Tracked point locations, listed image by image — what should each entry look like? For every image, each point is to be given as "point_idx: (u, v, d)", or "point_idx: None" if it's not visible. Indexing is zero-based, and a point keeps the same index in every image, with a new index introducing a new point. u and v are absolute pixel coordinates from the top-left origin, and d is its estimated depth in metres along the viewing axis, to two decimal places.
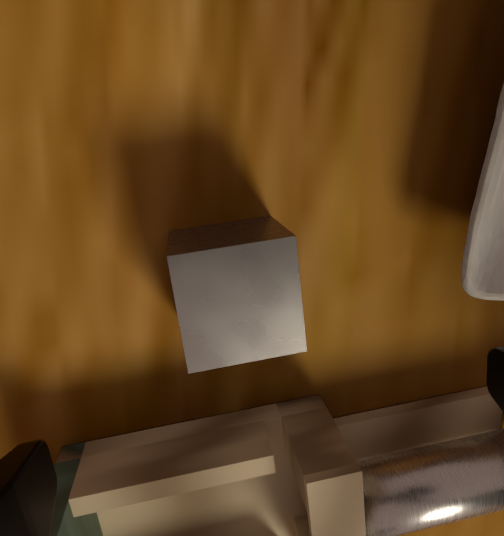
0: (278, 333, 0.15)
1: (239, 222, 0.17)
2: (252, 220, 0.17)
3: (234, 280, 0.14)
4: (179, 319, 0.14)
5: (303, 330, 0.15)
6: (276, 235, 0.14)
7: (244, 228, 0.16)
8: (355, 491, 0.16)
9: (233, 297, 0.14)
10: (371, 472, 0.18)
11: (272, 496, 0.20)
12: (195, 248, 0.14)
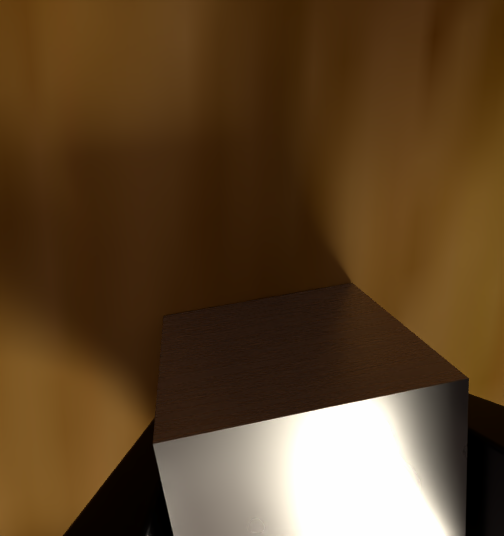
0: None
1: (298, 301, 0.09)
2: (322, 296, 0.09)
3: (318, 484, 0.06)
4: None
5: None
6: (412, 368, 0.06)
7: (318, 326, 0.08)
8: None
9: (314, 520, 0.06)
10: None
11: None
12: (223, 407, 0.06)
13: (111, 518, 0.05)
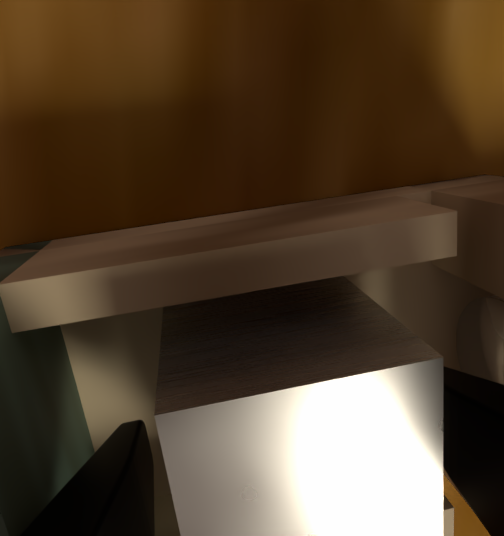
0: None
1: (291, 291, 0.09)
2: (313, 287, 0.09)
3: (305, 455, 0.06)
4: None
5: (437, 531, 0.07)
6: (393, 349, 0.07)
7: (308, 313, 0.08)
8: None
9: (302, 488, 0.06)
10: None
11: None
12: (219, 384, 0.06)
13: (58, 530, 0.05)
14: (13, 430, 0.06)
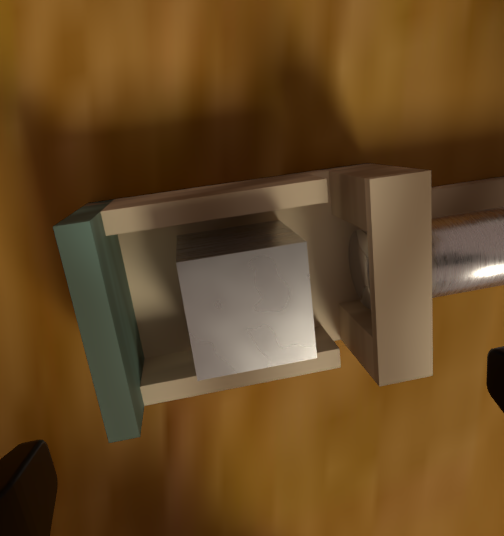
0: (288, 340, 0.14)
1: (248, 227, 0.17)
2: (261, 225, 0.17)
3: (244, 287, 0.14)
4: (188, 326, 0.14)
5: (313, 336, 0.15)
6: (286, 241, 0.14)
7: (253, 233, 0.16)
8: (422, 197, 0.14)
9: (243, 304, 0.14)
10: None
11: (316, 272, 0.18)
12: (204, 254, 0.14)
13: None
14: (109, 277, 0.14)
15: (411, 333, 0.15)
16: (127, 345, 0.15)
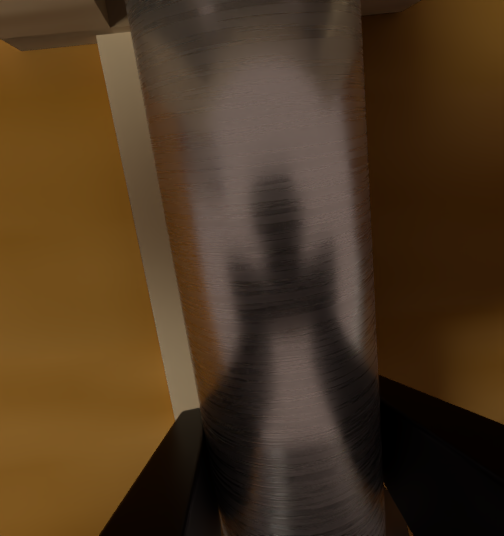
0: None
1: None
2: None
3: None
4: None
5: None
6: None
7: None
8: None
9: None
10: None
11: None
12: None
13: (151, 509, 0.05)
14: None
15: None
16: None
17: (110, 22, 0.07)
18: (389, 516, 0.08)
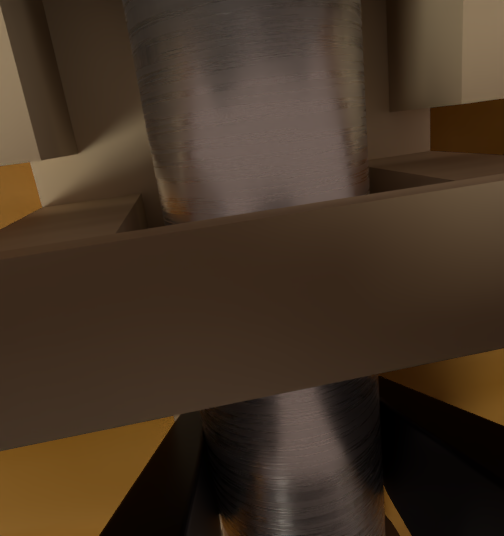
0: None
1: None
2: None
3: None
4: None
5: None
6: None
7: None
8: None
9: None
10: None
11: None
12: None
13: (152, 509, 0.05)
14: None
15: (145, 355, 0.05)
16: None
17: None
18: None
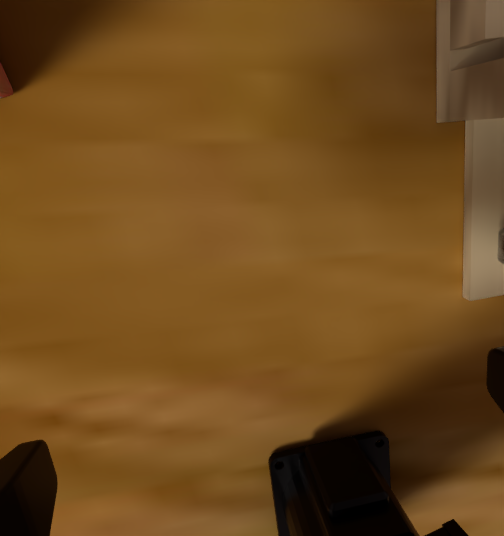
0: None
1: None
2: None
3: None
4: None
5: None
6: None
7: None
8: None
9: None
10: None
11: None
12: None
13: None
14: None
15: None
16: None
17: None
18: None
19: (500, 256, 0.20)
